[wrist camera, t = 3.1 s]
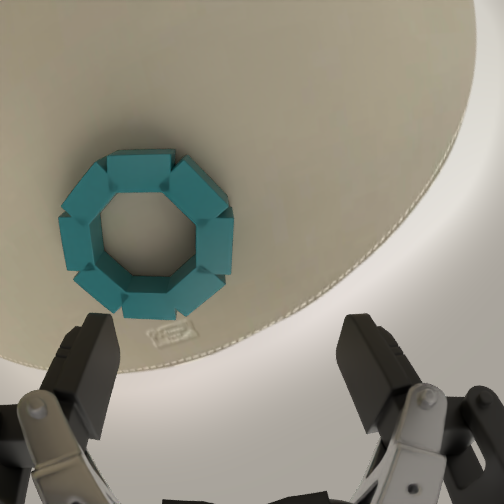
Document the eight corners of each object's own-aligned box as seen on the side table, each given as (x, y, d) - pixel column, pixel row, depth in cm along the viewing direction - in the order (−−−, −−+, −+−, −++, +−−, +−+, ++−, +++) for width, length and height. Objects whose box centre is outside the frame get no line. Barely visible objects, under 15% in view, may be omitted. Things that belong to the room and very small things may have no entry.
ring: (86, 298, 20) (77, 315, 18) (67, 153, 16) (52, 159, 14) (227, 303, 21) (229, 321, 19) (235, 150, 17) (237, 155, 15)
